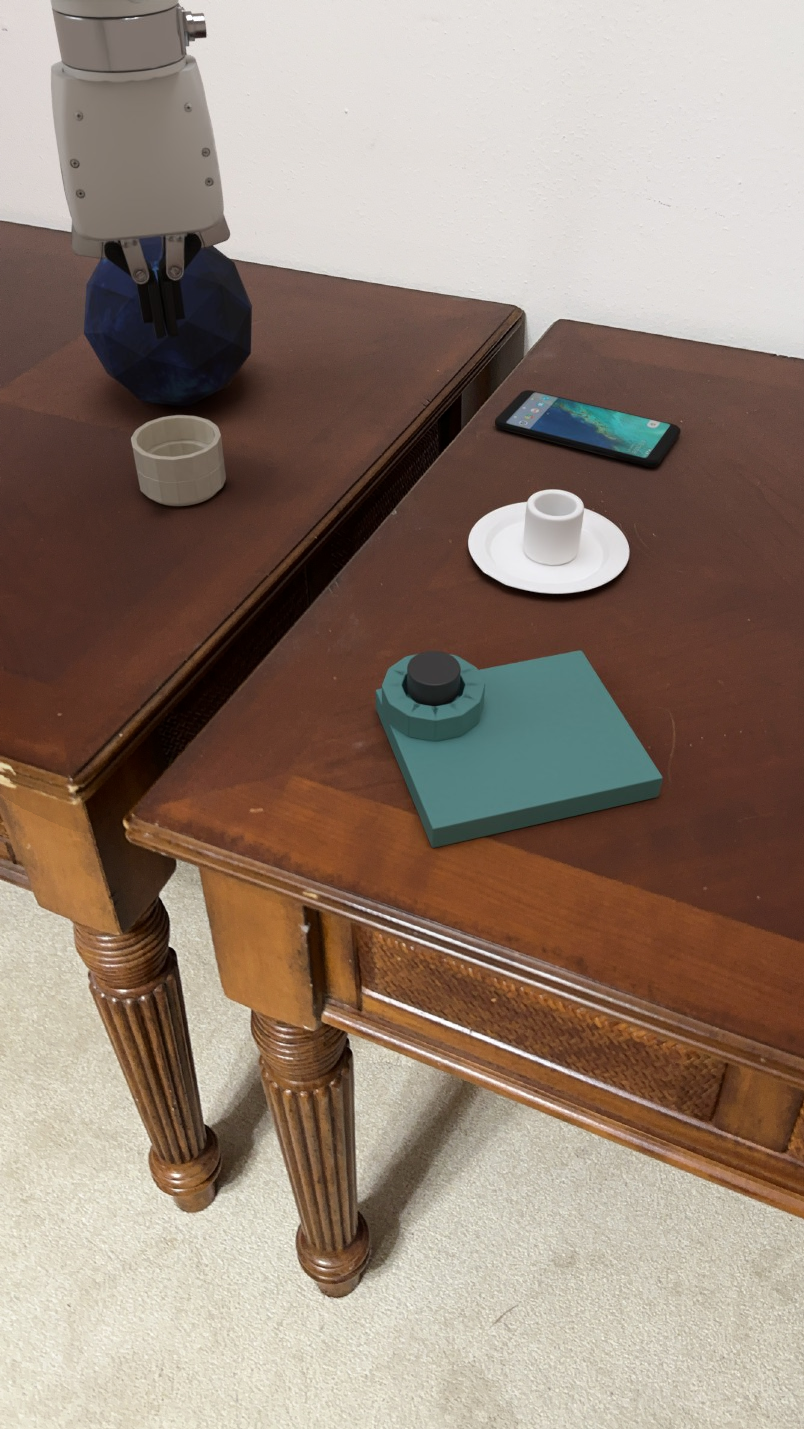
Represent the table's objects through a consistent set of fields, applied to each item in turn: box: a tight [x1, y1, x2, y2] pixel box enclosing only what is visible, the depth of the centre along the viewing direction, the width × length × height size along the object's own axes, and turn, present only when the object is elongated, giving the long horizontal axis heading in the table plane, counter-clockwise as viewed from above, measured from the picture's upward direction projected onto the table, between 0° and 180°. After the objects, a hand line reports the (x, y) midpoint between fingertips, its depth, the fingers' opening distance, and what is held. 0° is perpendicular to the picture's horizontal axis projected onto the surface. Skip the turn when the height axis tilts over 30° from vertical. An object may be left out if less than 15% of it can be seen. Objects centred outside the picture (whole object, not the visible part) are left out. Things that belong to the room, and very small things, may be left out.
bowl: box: [130, 414, 227, 507], centre depth 88 cm, size 7×7×4 cm
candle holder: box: [467, 488, 630, 595], centre depth 81 cm, size 12×12×4 cm
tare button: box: [407, 650, 461, 706], centre depth 66 cm, size 3×3×2 cm
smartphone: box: [494, 389, 681, 468], centre depth 96 cm, size 7×1×15 cm
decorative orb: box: [83, 236, 253, 407], centre depth 96 cm, size 14×15×15 cm
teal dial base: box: [375, 649, 664, 849], centre depth 67 cm, size 14×13×4 cm
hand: (165, 329), depth 80 cm, fingers closed
